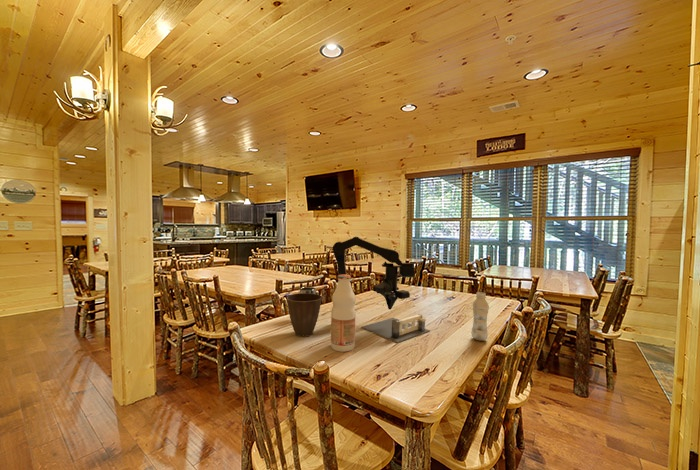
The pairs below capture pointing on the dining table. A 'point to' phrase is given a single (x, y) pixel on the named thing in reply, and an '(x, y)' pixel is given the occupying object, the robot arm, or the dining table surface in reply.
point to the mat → (385, 330)
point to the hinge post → (395, 329)
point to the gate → (406, 321)
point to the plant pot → (304, 312)
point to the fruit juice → (343, 316)
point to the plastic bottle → (480, 317)
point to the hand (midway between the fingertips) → (389, 309)
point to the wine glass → (308, 290)
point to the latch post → (421, 324)
